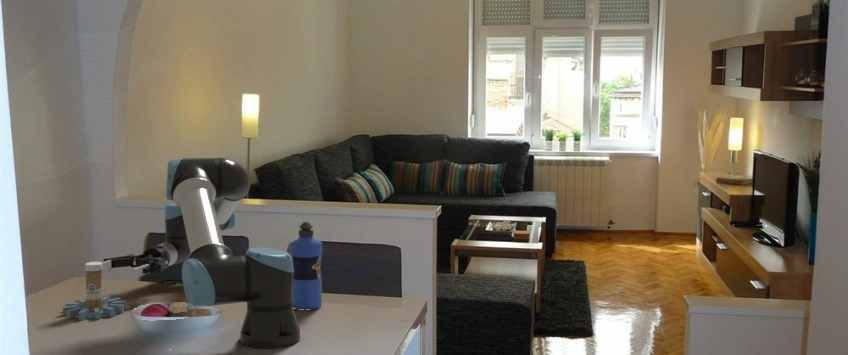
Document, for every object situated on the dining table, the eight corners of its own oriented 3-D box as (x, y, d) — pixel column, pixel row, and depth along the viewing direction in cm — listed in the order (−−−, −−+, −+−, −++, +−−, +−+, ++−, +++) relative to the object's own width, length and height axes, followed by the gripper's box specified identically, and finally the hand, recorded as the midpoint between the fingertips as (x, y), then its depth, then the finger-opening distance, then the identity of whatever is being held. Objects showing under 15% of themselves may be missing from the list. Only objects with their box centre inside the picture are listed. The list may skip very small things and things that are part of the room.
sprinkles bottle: (85, 312, 224) (83, 265, 223) (87, 307, 229) (85, 261, 227) (103, 311, 226) (101, 264, 224) (104, 306, 230) (103, 260, 228)
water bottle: (325, 302, 240) (325, 220, 237) (317, 311, 231) (318, 226, 228) (294, 301, 241) (294, 219, 238) (286, 310, 232) (286, 224, 229)
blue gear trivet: (110, 321, 218) (110, 313, 218) (51, 319, 219) (51, 311, 219) (135, 304, 235) (135, 297, 235) (80, 302, 236) (80, 295, 235)
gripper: (193, 271, 251) (151, 287, 231) (126, 265, 259) (80, 280, 238) (193, 248, 250) (150, 262, 230) (126, 242, 258) (79, 255, 238)
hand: (114, 271), depth 234 cm, fingers open, 13 cm apart
